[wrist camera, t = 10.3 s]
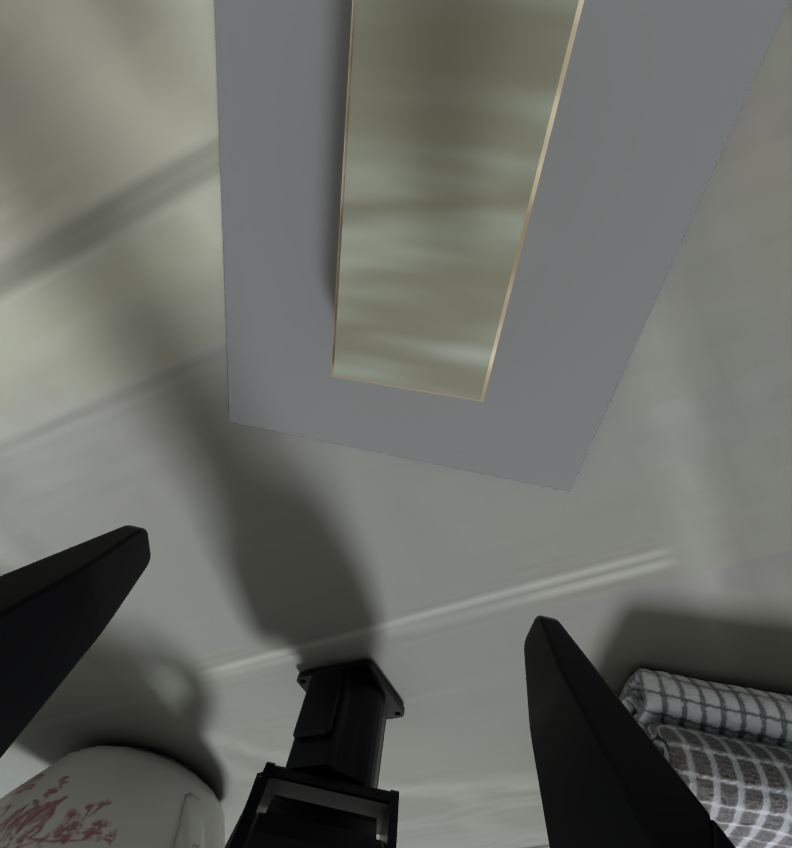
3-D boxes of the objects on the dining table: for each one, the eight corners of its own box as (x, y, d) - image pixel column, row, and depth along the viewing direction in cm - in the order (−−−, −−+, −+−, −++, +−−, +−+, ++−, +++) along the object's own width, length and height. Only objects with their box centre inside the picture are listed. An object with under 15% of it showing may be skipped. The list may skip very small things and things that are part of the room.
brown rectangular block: (484, 405, 14) (610, -93, 9) (328, 379, 14) (354, -116, 9) (477, 377, 17) (566, -1, 12) (349, 356, 17) (378, -21, 12)
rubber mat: (566, 484, 20) (569, 491, 19) (235, 417, 20) (229, 422, 20) (859, -183, 10) (882, -207, 10) (215, -268, 11) (203, -295, 10)
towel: (875, 688, 23) (1060, 877, 16) (742, 819, 31) (829, 986, 24) (621, 650, 25) (691, 812, 18) (555, 786, 33) (585, 935, 25)
